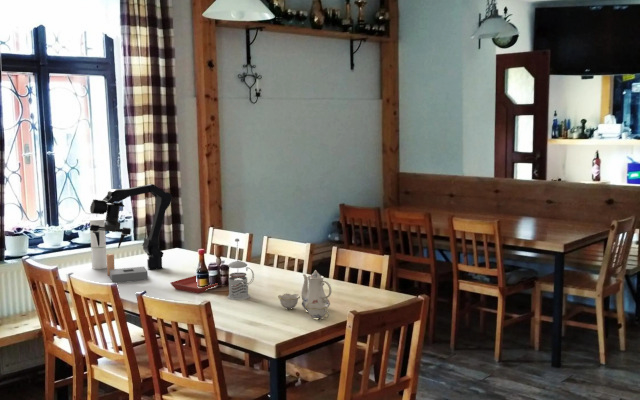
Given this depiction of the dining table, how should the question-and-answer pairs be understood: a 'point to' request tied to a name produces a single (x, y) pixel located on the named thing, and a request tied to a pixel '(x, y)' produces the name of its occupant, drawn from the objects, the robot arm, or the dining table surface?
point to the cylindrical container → (98, 251)
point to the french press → (238, 281)
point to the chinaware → (310, 296)
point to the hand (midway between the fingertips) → (108, 247)
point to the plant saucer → (190, 285)
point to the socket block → (128, 274)
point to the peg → (110, 263)
